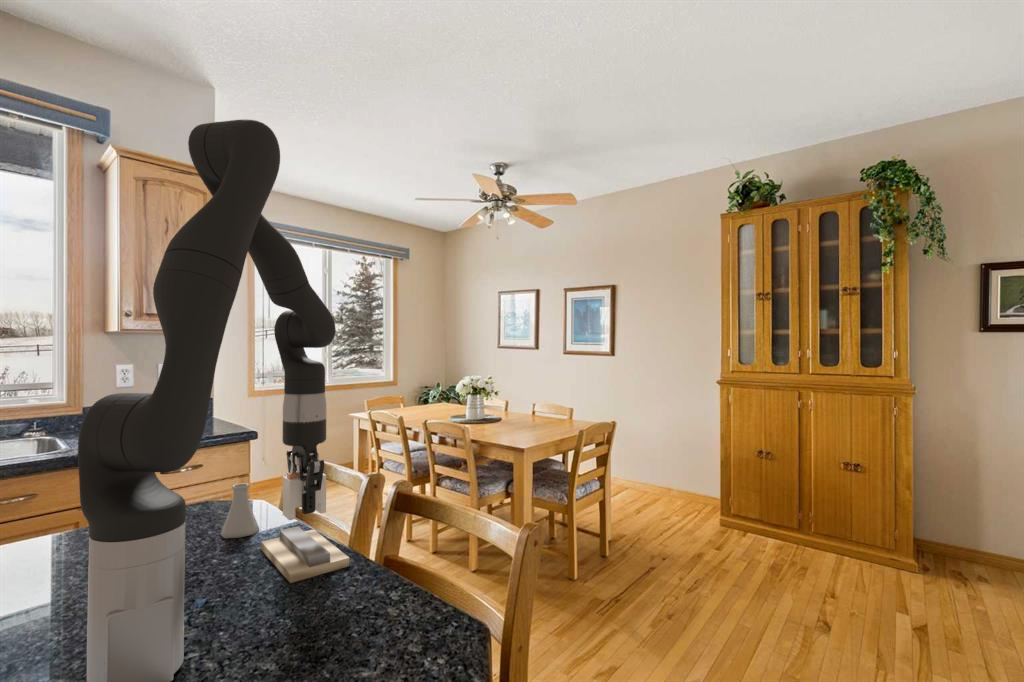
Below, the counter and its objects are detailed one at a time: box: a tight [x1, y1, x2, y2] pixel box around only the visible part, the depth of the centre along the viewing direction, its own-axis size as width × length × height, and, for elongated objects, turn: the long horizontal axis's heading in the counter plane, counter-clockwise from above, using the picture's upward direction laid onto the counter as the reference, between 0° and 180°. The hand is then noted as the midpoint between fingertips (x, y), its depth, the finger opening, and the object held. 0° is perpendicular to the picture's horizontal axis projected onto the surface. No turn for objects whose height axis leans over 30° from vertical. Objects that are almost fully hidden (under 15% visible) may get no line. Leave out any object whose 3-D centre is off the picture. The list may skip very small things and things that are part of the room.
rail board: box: [260, 525, 350, 584], centre depth 92 cm, size 18×10×3 cm, turn 41°
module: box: [282, 472, 327, 521], centre depth 92 cm, size 4×6×8 cm, turn 131°
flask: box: [219, 482, 260, 539], centre depth 104 cm, size 7×7×10 cm
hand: (304, 509), depth 92 cm, fingers closed on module, 4 cm apart
